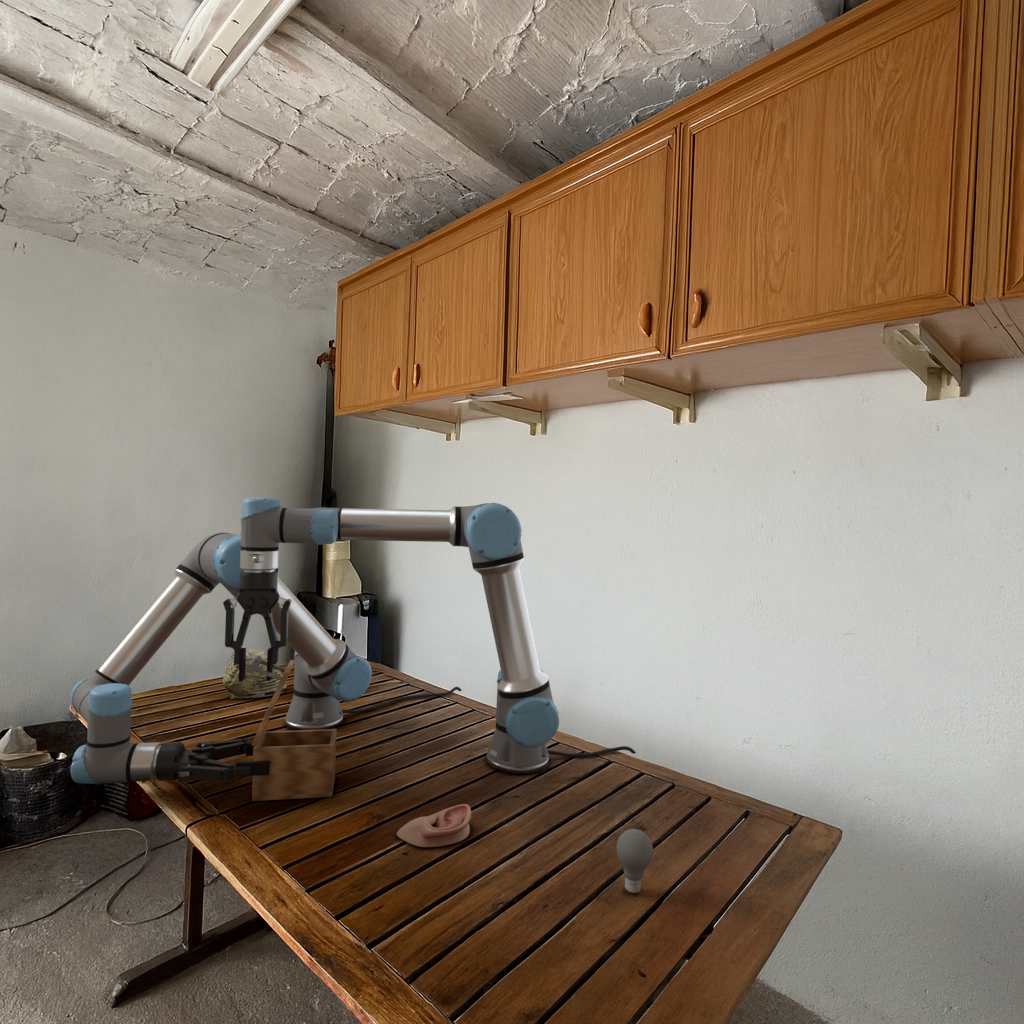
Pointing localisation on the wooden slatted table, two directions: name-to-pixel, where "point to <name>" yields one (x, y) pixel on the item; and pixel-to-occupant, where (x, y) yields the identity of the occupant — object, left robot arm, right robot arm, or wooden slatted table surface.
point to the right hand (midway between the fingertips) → (255, 679)
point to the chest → (295, 764)
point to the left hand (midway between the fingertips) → (273, 757)
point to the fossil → (250, 678)
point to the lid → (253, 667)
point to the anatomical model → (438, 827)
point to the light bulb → (634, 857)
